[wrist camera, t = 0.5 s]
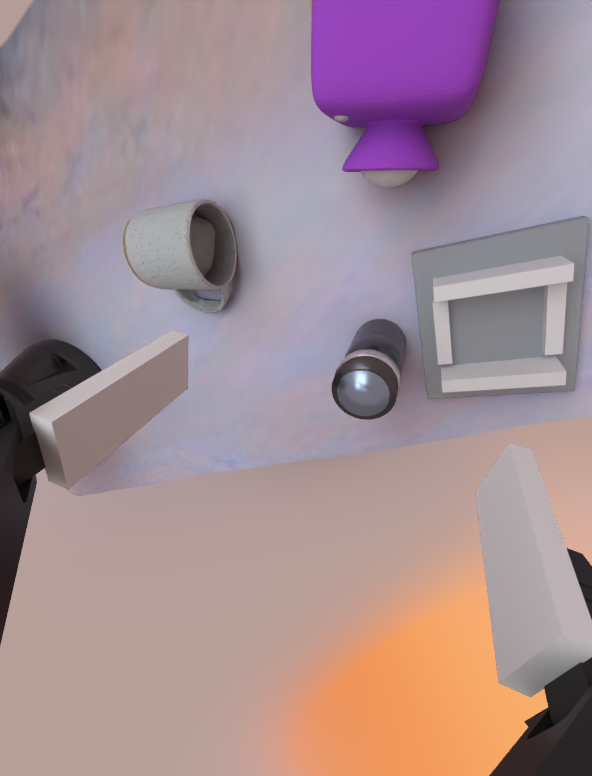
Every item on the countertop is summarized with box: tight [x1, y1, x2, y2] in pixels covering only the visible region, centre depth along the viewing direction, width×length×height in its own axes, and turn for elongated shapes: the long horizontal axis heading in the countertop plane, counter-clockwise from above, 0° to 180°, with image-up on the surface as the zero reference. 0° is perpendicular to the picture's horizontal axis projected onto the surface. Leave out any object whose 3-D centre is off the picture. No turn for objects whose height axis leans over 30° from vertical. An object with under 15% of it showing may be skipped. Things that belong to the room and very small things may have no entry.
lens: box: [332, 319, 406, 419], centre depth 32 cm, size 5×5×10 cm
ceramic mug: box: [123, 199, 237, 312], centre depth 35 cm, size 11×8×8 cm
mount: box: [412, 216, 589, 399], centre depth 30 cm, size 12×14×4 cm
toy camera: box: [310, 0, 499, 188], centre depth 22 cm, size 11×14×10 cm
